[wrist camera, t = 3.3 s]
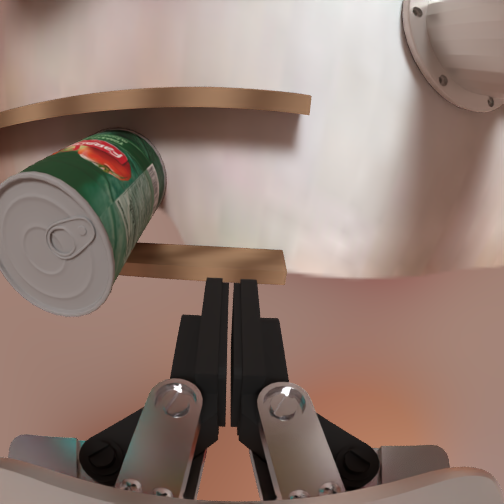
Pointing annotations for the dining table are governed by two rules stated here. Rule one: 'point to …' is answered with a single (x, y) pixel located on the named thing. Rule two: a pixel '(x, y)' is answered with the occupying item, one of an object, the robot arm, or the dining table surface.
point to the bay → (169, 255)
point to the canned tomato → (78, 219)
